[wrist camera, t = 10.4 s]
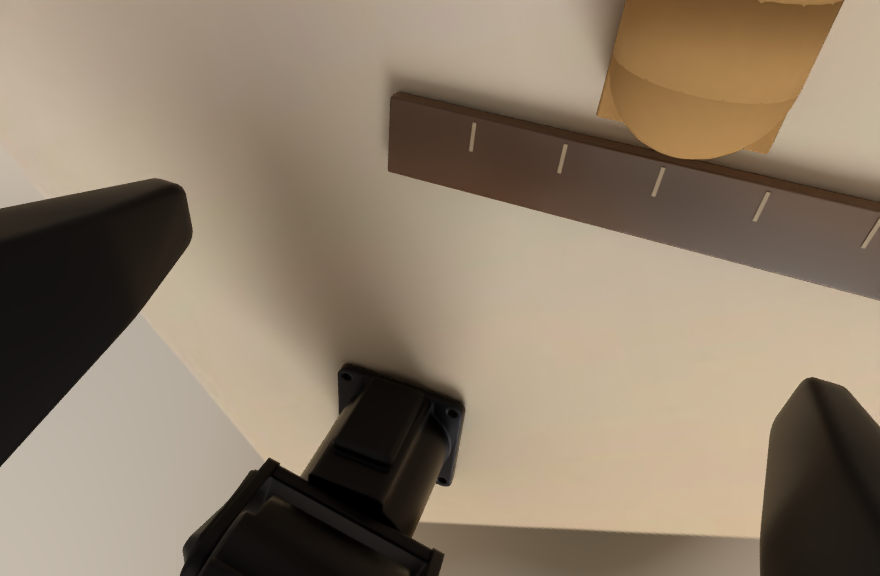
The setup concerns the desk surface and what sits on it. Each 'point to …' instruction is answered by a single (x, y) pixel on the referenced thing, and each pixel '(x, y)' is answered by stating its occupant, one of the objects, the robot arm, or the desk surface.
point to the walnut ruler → (641, 193)
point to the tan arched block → (712, 71)
